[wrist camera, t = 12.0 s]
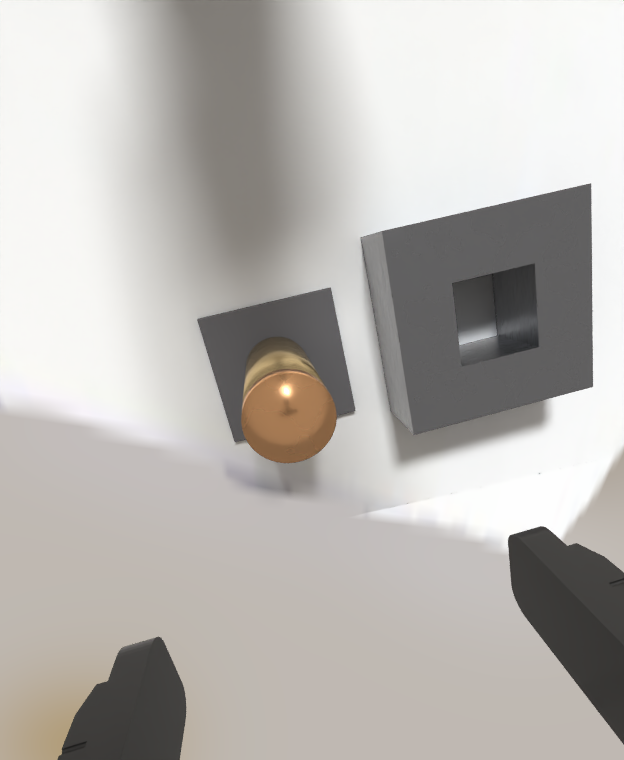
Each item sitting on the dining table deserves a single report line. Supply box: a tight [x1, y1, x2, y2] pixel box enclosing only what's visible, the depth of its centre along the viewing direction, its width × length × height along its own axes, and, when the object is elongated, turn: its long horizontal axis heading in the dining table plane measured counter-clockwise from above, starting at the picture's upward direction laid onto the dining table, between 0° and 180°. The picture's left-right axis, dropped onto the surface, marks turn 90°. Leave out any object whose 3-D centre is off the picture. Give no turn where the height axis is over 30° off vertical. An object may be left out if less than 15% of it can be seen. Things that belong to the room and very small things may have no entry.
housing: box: [361, 184, 593, 435], centre depth 29 cm, size 14×14×5 cm
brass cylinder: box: [241, 337, 337, 463], centre depth 25 cm, size 5×5×11 cm
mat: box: [198, 288, 355, 442], centre depth 31 cm, size 10×10×1 cm
